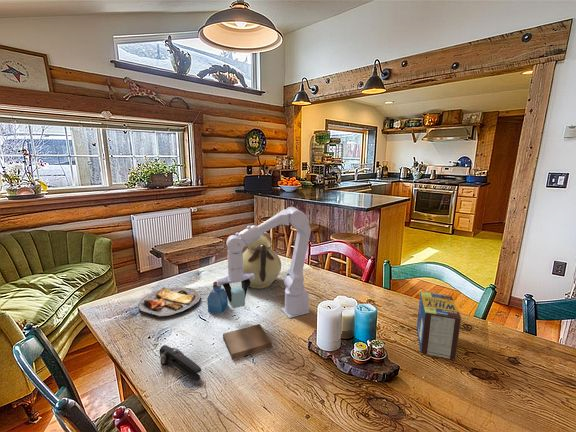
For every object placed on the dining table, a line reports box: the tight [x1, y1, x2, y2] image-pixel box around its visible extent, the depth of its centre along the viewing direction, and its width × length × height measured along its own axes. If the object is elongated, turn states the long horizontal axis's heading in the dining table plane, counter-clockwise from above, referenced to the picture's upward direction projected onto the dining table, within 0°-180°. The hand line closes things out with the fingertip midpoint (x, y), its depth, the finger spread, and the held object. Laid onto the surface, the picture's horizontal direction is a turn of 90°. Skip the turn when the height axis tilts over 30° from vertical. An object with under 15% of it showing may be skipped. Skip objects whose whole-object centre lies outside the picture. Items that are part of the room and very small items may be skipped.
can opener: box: [159, 344, 202, 381], centre depth 88 cm, size 18×7×6 cm, turn 56°
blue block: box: [228, 285, 246, 309], centre depth 112 cm, size 5×5×6 cm
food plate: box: [137, 286, 201, 317], centre depth 127 cm, size 25×23×4 cm
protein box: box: [416, 291, 462, 361], centre depth 99 cm, size 10×15×16 cm
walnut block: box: [222, 323, 273, 360], centre depth 100 cm, size 14×12×2 cm
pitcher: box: [242, 231, 282, 289], centre depth 144 cm, size 22×24×25 cm
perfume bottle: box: [206, 280, 229, 314], centre depth 121 cm, size 6×6×12 cm
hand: (236, 299), depth 112 cm, fingers closed on blue block, 5 cm apart
